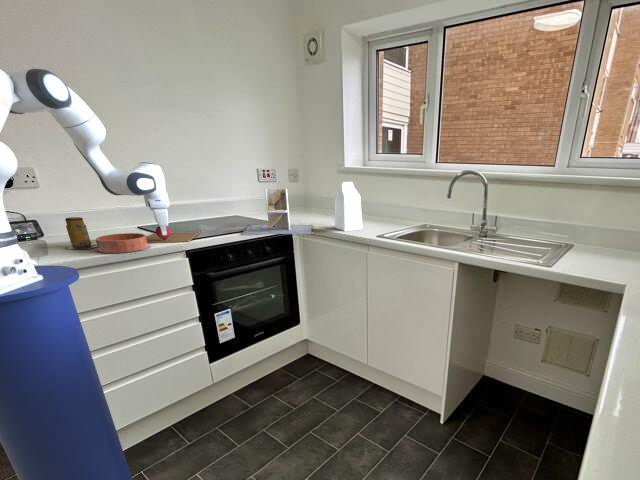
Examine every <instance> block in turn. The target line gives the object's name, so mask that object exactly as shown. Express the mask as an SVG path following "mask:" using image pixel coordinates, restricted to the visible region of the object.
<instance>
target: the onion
mask: <svg viewBox="0 0 640 480" xmlns="http://www.w3.org/2000/svg"><path fill="white" fill-rule="evenodd" d="M166 232H167V235H162V232H161V228H160V226H159V225H157V227H156V229H155V234H157V236H158V237H160V238H161V239H163V240H167V239H168V238H169V237H170V235H171V233H172V230H171V228H170V227H169V225H168V226H166Z"/></svg>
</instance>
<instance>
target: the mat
mask: <svg viewBox="0 0 640 480" xmlns="http://www.w3.org/2000/svg"><path fill="white" fill-rule="evenodd" d="M198 235H199V232H178V233H177V232H176V233H175V232H173V233H172V232H171V235H170V237H169V238H168V239H167V240H163V239H161V238H160V237H158V236H157V234H156V233H151V234H150V235H147V236H146V238H147V243H148V244H158V243H159V244H162V243H163V244H165V243H189V242H190V241H191V240H193V239H194V238H195V237H196V236H198Z"/></svg>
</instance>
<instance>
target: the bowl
mask: <svg viewBox="0 0 640 480" xmlns="http://www.w3.org/2000/svg"><path fill="white" fill-rule="evenodd" d="M146 237H147V234H144V233H139V232H127V233H126V232H125V233H113V234H107V235H105V234H104V235H101V236H98V237H96V238H95V241H96V245H97V246H98V247H97V249H98V251H99V252H100V253H106V254H123V253H131V252H132V253H133V252H137V251H141V250H145V249H147V248H149V243H147V238H146Z"/></svg>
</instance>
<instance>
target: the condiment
mask: <svg viewBox="0 0 640 480" xmlns="http://www.w3.org/2000/svg"><path fill="white" fill-rule="evenodd" d="M64 221H65V224H66V225H65V227H66V231H67V234H68V238H69V242H70V244H71V246H69V247H67V249H69V250H90V249H94V248H98V245H97V244H96V245H93V244H92V243H91V238H90V235H89V231H88V228H87V225H86V224H85V222H84V218H83V217H82V216H81V217H80V216H73V217H72V216H71V217H65V219H64Z"/></svg>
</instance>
